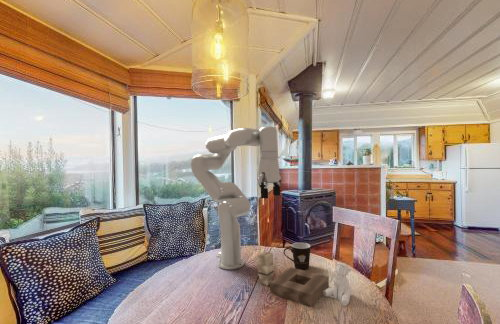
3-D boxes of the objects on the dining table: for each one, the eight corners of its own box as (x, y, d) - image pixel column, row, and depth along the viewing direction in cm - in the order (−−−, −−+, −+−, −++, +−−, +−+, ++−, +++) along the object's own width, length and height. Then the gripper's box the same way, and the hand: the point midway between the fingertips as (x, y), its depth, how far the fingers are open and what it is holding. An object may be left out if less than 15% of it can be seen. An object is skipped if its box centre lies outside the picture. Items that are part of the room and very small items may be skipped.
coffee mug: (313, 265, 114) (313, 244, 114) (307, 272, 107) (306, 249, 107) (290, 261, 120) (289, 240, 121) (283, 267, 113) (282, 245, 113)
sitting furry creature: (321, 295, 88) (320, 262, 88) (335, 287, 93) (334, 256, 94) (346, 307, 81) (344, 270, 81) (359, 298, 86) (358, 263, 86)
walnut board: (270, 293, 91) (270, 282, 91) (291, 276, 104) (290, 267, 104) (311, 307, 81) (311, 294, 81) (328, 287, 94) (328, 276, 94)
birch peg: (258, 283, 99) (257, 254, 99) (264, 279, 102) (263, 251, 103) (267, 286, 96) (266, 256, 96) (273, 281, 100) (273, 253, 100)
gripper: (272, 157, 113) (273, 194, 113) (249, 156, 99) (251, 199, 99) (286, 155, 109) (288, 194, 108) (265, 155, 95) (267, 199, 94)
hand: (270, 196), depth 104 cm, fingers open, 9 cm apart
